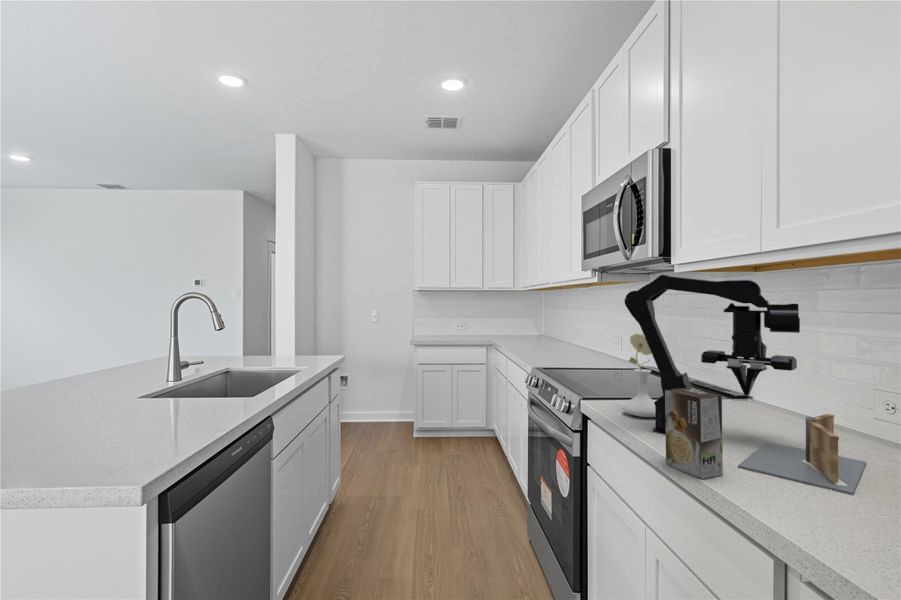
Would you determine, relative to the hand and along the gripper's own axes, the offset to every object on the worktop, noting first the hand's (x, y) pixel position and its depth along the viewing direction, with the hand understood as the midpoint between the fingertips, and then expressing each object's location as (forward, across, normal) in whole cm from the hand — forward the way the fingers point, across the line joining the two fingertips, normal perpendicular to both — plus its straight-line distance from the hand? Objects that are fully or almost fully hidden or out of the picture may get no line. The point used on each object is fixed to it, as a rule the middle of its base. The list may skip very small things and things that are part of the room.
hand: (746, 395), depth 108 cm
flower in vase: (+12, +30, -9) cm, 34 cm away
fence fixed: (+12, -14, +1) cm, 19 cm away
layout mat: (+12, -12, +8) cm, 19 cm away
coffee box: (+12, +3, +27) cm, 30 cm away
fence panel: (+11, -16, +11) cm, 23 cm away
